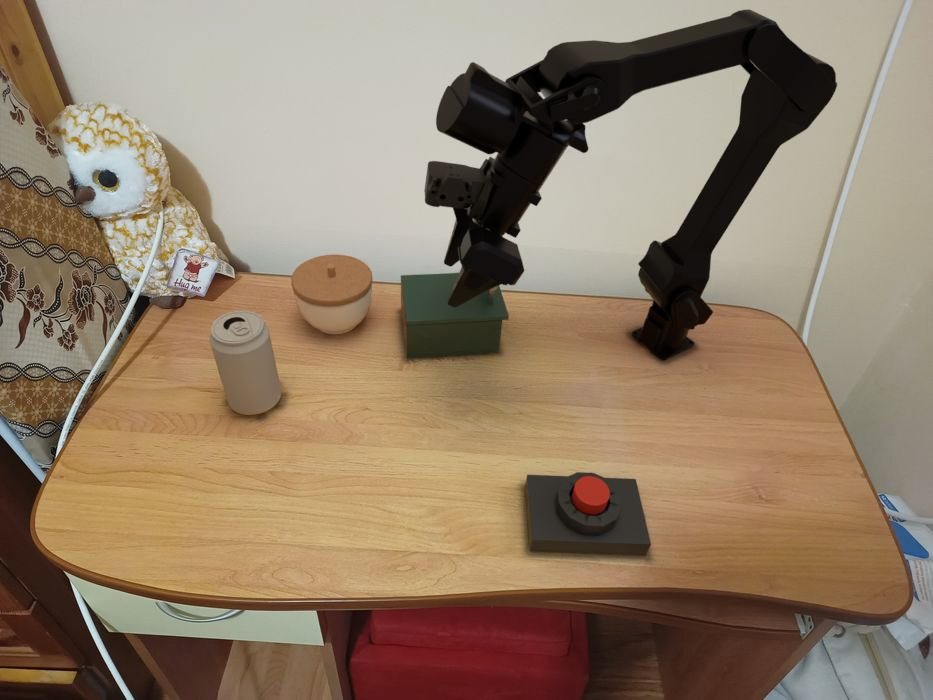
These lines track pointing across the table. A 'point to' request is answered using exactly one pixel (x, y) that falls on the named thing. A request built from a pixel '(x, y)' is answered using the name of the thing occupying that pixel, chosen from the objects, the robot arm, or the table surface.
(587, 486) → the button
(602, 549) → the panel
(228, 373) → the beverage can
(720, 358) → the table surface
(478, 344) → the green box
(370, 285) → the trinket box
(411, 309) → the lid
